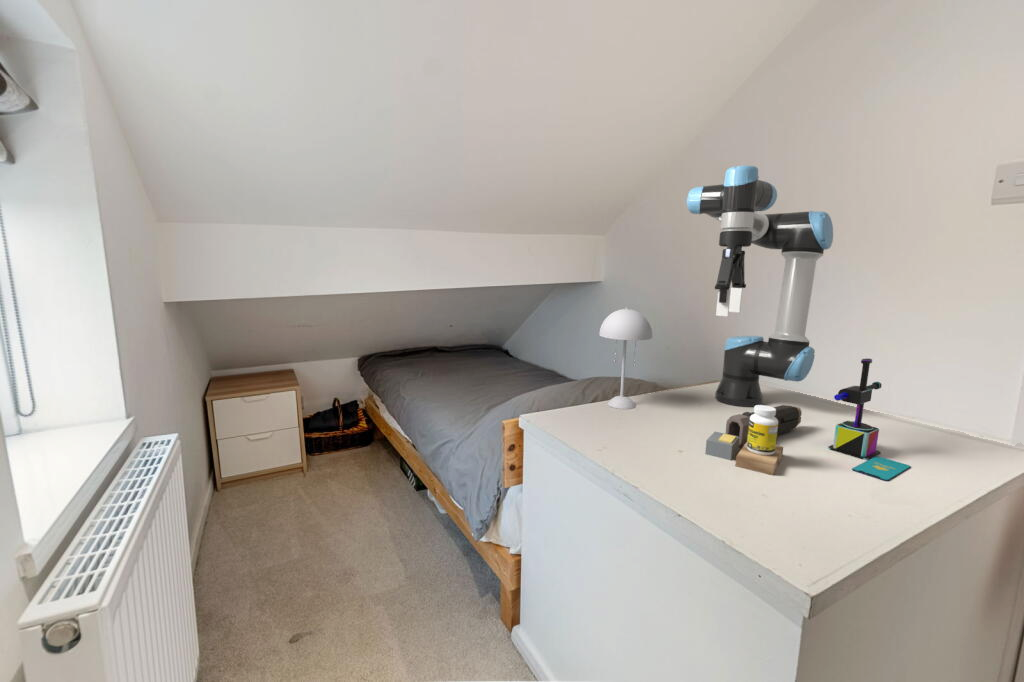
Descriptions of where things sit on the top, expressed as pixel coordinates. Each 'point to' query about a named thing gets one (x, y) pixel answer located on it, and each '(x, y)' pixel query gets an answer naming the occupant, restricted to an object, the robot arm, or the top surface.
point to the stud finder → (722, 445)
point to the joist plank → (759, 460)
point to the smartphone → (881, 468)
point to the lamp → (625, 342)
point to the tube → (784, 415)
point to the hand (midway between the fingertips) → (728, 314)
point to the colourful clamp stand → (857, 421)
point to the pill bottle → (762, 430)
